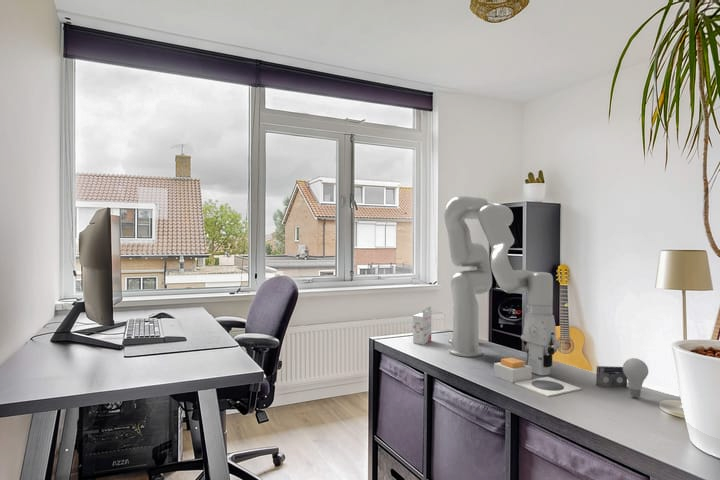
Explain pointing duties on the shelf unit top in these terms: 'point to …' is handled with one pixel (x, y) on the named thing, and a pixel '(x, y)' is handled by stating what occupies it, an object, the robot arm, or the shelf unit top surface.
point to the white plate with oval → (547, 386)
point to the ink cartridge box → (422, 327)
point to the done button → (512, 362)
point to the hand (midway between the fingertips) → (539, 363)
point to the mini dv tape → (610, 377)
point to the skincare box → (537, 359)
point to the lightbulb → (635, 375)
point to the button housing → (512, 373)
